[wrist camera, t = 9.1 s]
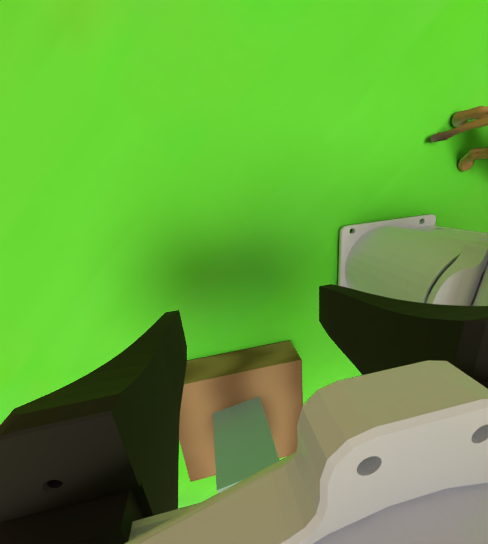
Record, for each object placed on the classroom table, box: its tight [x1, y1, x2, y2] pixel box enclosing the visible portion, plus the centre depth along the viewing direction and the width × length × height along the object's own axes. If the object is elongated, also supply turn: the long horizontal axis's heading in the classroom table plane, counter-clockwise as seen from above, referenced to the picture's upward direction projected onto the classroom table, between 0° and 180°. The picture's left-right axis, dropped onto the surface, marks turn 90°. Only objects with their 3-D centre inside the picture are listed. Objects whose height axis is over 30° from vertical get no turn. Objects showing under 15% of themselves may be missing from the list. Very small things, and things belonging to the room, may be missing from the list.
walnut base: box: [179, 340, 303, 481], centre depth 24 cm, size 12×12×3 cm
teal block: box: [213, 397, 280, 493], centre depth 20 cm, size 4×4×6 cm
